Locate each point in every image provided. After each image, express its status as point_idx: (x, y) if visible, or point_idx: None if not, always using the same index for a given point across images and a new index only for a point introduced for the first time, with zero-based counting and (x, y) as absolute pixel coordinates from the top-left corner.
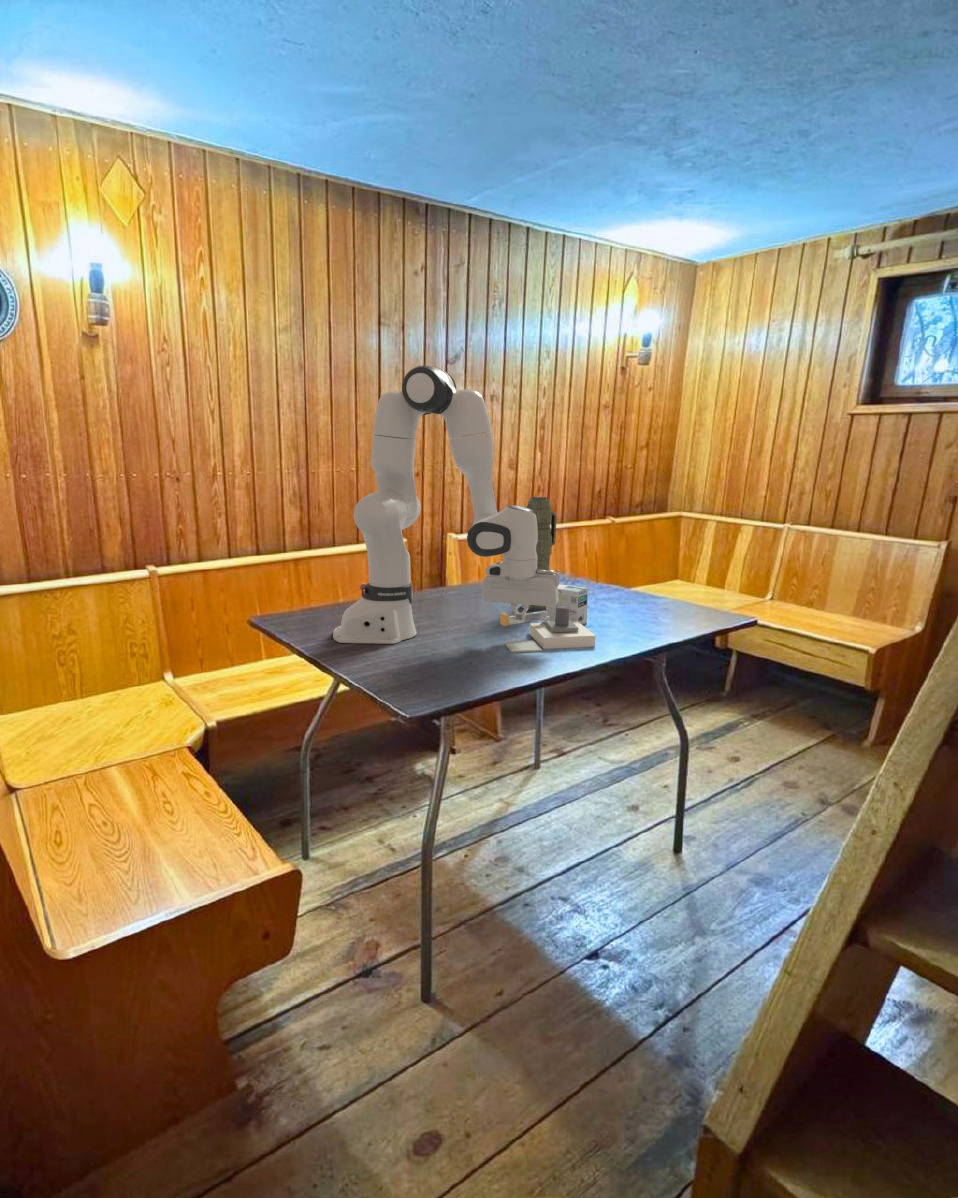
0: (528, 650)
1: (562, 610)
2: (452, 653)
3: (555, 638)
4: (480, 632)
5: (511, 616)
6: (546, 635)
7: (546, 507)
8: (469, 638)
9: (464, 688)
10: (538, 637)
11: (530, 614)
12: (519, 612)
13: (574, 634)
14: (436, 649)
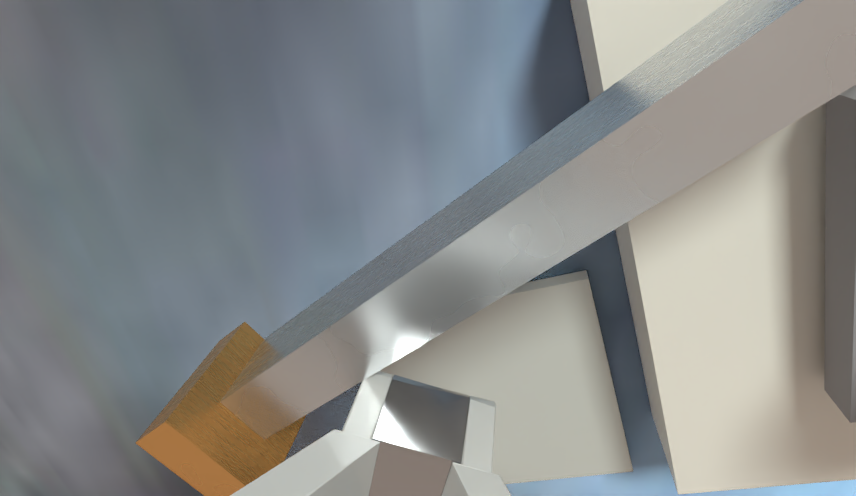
0: (530, 478)
1: None
2: (110, 484)
3: (796, 474)
4: (45, 14)
5: (298, 387)
6: (719, 441)
7: None
8: (53, 220)
9: None
10: (640, 324)
11: (596, 238)
12: (396, 446)
13: None
14: (3, 435)
